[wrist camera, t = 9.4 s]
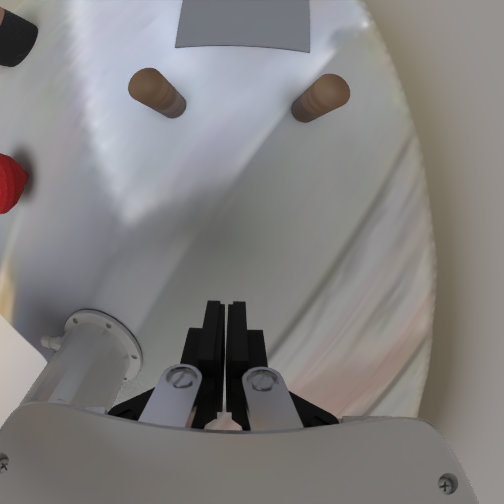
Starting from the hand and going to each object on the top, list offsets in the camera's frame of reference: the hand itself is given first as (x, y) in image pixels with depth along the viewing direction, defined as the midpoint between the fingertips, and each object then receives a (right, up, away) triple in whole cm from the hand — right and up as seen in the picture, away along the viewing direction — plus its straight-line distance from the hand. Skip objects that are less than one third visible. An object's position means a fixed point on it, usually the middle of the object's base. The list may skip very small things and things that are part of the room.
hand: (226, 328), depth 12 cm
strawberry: (-28, +13, +12) cm, 33 cm away
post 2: (+6, +18, +12) cm, 22 cm away
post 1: (-7, +18, +12) cm, 22 cm away
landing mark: (+1, +31, +7) cm, 32 cm away
